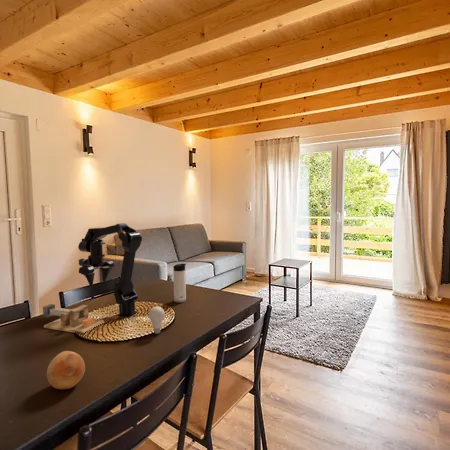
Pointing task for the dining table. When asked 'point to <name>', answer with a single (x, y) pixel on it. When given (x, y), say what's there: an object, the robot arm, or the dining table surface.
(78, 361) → the onion
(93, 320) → the block
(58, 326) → the bearing stand
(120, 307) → the robot arm
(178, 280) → the travel mug
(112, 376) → the dining table surface
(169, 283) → the dining table surface
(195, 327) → the dining table surface
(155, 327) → the lightbulb
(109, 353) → the dining table surface
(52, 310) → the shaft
